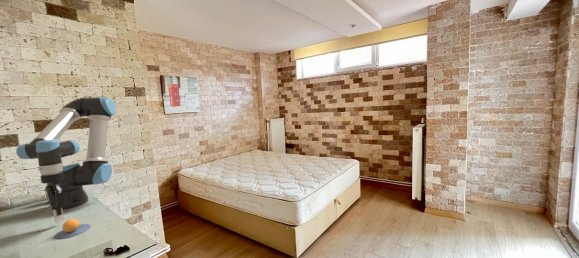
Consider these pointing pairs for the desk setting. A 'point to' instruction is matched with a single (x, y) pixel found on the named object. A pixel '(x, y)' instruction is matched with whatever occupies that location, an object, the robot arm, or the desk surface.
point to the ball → (70, 225)
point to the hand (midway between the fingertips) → (59, 221)
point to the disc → (78, 231)
